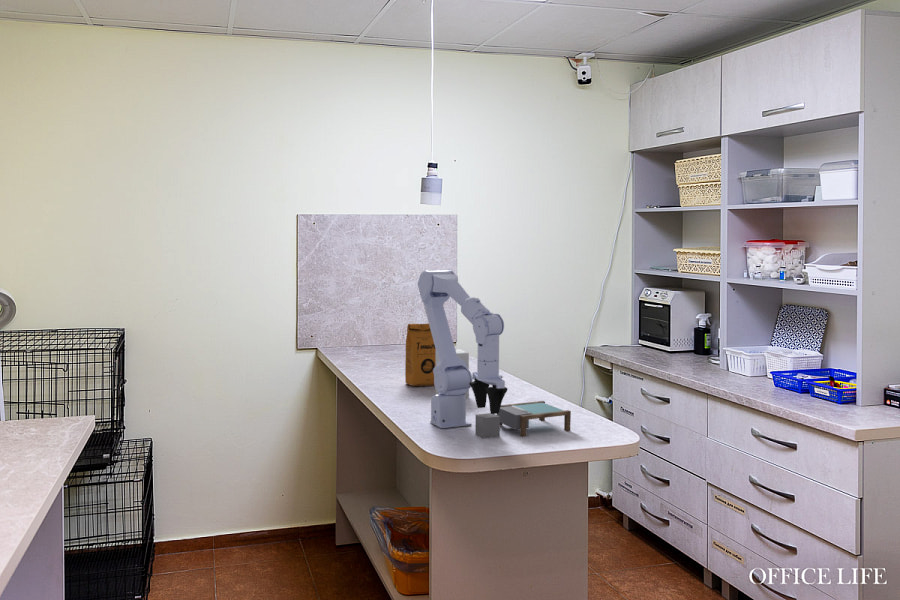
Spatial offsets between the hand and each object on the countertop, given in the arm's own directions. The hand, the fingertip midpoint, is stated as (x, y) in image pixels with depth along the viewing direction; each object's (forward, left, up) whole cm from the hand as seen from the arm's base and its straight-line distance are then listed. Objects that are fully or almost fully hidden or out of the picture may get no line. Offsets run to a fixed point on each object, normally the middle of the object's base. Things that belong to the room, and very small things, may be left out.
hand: (487, 410), depth 211 cm
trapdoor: (+14, +2, -5) cm, 16 cm away
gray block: (0, 0, -7) cm, 7 cm away
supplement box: (+13, +49, -7) cm, 51 cm away
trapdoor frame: (+15, +2, -7) cm, 17 cm away
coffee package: (+12, +70, -7) cm, 71 cm away
